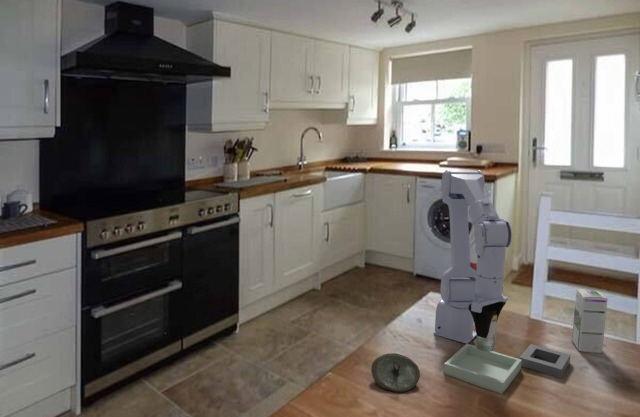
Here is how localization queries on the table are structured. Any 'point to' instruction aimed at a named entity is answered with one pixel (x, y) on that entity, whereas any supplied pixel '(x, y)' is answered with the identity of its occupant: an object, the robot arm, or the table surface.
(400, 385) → the lid
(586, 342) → the syrup box
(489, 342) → the pin
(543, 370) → the holder
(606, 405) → the table surface
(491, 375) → the tray
